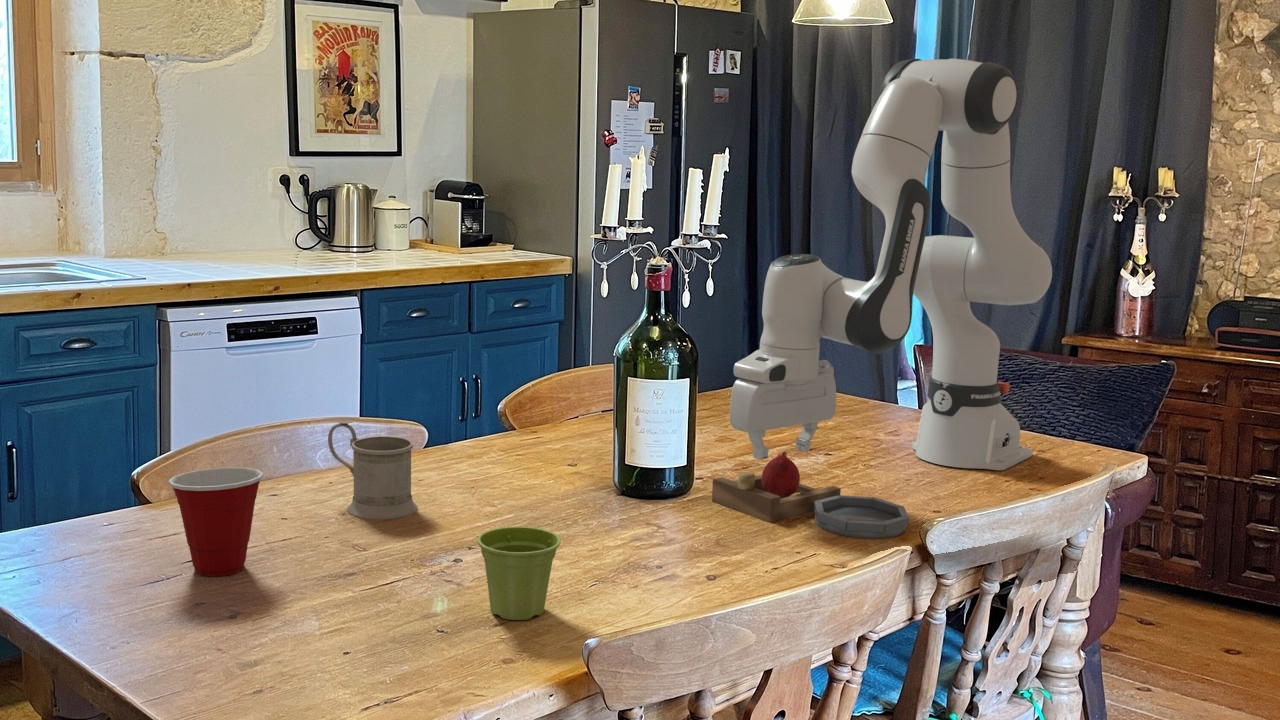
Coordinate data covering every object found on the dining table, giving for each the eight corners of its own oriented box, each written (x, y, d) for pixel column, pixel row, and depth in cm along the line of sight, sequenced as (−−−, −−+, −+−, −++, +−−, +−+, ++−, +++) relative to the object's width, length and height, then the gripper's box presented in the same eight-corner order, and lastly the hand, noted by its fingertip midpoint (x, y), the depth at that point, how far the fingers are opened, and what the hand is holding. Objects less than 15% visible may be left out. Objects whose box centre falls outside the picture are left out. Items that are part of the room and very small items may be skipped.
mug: (430, 505, 177) (431, 425, 175) (389, 524, 168) (390, 439, 166) (350, 490, 183) (350, 412, 180) (306, 506, 174) (305, 425, 172)
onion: (796, 509, 182) (800, 457, 181) (758, 505, 183) (761, 454, 182) (799, 498, 188) (803, 448, 186) (762, 494, 189) (765, 444, 187)
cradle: (784, 484, 195) (786, 451, 194) (842, 503, 186) (844, 468, 185) (710, 501, 184) (712, 466, 183) (768, 522, 175) (771, 485, 174)
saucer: (853, 505, 185) (854, 491, 185) (924, 527, 176) (925, 513, 175) (796, 520, 177) (797, 505, 176) (866, 544, 167) (868, 529, 167)
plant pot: (478, 595, 144) (479, 525, 142) (557, 596, 145) (559, 526, 143) (474, 627, 135) (475, 552, 133) (559, 627, 135) (561, 553, 134)
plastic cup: (241, 547, 156) (239, 457, 154) (280, 571, 149) (279, 476, 146) (157, 564, 149) (153, 470, 147) (193, 591, 141) (190, 491, 139)
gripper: (817, 355, 190) (811, 441, 193) (725, 365, 177) (719, 458, 179) (849, 362, 186) (842, 450, 188) (757, 372, 172) (750, 467, 174)
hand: (781, 454), depth 183 cm, fingers open, 8 cm apart
